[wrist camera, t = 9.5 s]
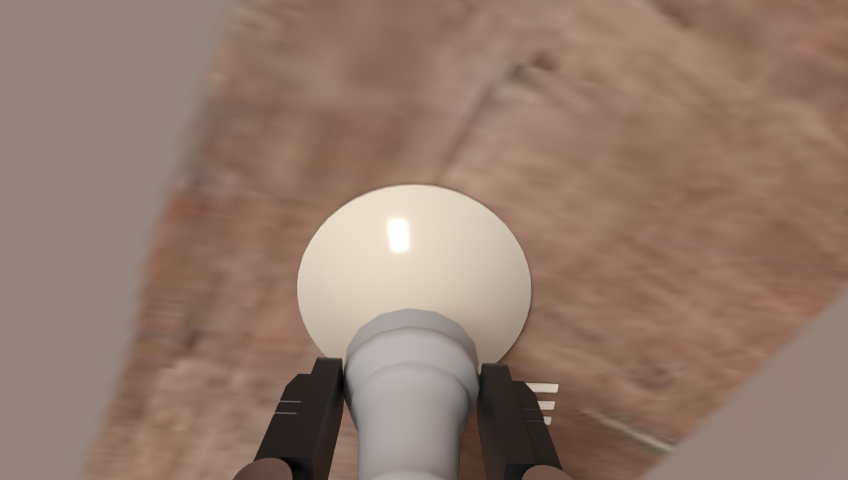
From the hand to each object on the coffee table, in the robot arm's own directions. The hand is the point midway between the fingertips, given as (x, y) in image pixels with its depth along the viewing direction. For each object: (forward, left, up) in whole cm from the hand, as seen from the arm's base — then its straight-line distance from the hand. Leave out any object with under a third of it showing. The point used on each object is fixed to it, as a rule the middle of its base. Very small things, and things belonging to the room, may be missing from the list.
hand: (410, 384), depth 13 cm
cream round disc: (0, 0, -6) cm, 6 cm away
